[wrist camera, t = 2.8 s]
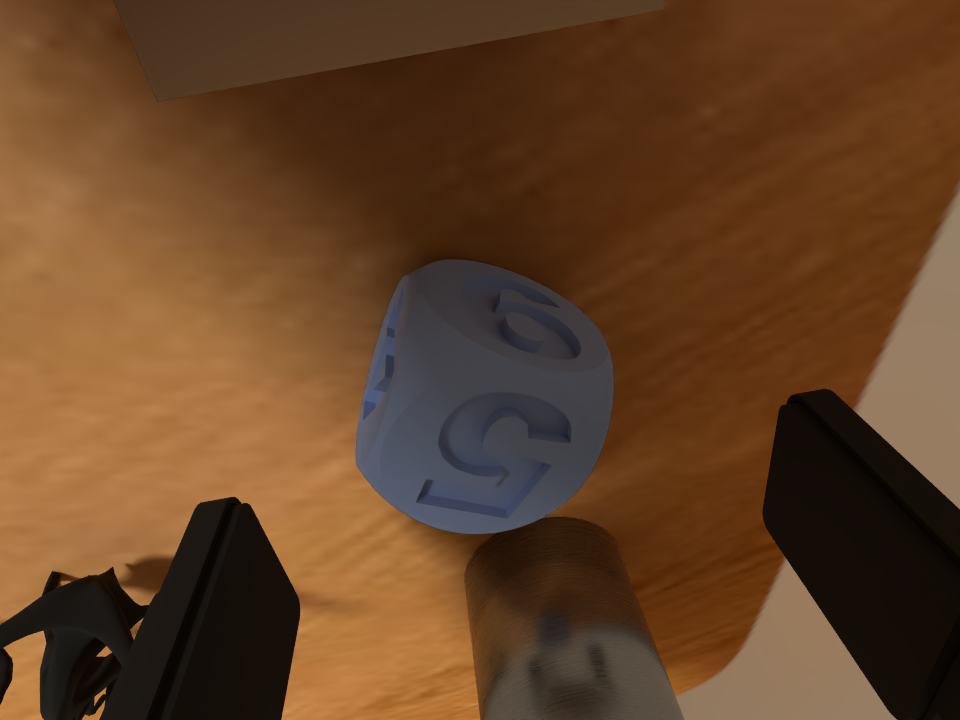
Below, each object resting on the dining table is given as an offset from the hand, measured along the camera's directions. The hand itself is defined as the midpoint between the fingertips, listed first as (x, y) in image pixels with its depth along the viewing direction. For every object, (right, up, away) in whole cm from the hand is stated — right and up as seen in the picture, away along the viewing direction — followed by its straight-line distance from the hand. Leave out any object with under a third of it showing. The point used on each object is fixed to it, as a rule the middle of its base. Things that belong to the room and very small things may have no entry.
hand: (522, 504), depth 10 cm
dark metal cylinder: (+1, -4, +8) cm, 9 cm away
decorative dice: (-1, +3, +3) cm, 5 cm away
